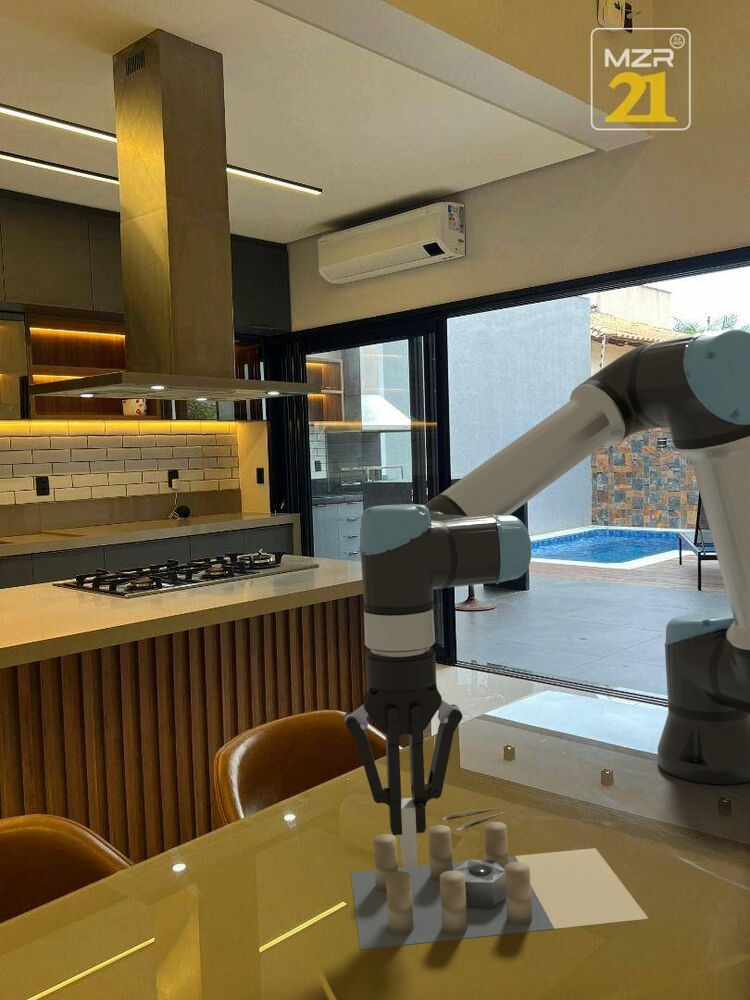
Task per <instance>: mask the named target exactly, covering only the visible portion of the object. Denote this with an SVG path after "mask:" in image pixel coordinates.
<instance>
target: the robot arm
mask: <svg viewBox="0 0 750 1000" xmlns="http://www.w3.org/2000/svg"><path fill="white" fill-rule="evenodd" d="M658 428H662V429H663V428H664V429H665V428H669V430H670V431H669V432H670V435H671V439H672V443H673V447H674V449H675V451H677V452H679V453H681V454H683V455H685V456H687V457H689V459H690V461H691V466H692V468H693V473H694V476H695V480H696V483H697V484H696V485H697V488H698V491H699V494H700V495H699V496H700V498H701V499H700V500H701V501H702V506H703V509H704V513H705V518H706V521H707V525H708V529H709V533H710V535H711V536H710V537H711V539H712V542H713V543H712V544H713V547H714V551H715V554H716V558H717V561H718V565H719V569H720V573H721V576H722V579H723V583H724V587H725V592H726V595H727V599H728V603H729V605H730V610H731V611H714V612H701V613H691V614H685V615H680V616H677V617H674V618H672V619H670V620H669V621H668V623H667V625H666V628H665V642H664V650H665V651H664V653H665V671H666V687H667V688H666V689H667V691H666V692H667V707H668V709H667V717H666V720H665V724H664V726H663V730H662V732H661V737H660V739H659V742H658V746H657V764H658V765H659V767H660V768H661V769H662V770H663V771H664V772H666V773H667V774H670V775H671V776H673V777H676V778H678V779H679V778H680V779H683V780H687V781H691V782H695V783H701V784H702V783H703V784H711V785H712V784H714V785H736V784H737V785H738V784H744V783H747V782H748V783H749V782H750V332H748V331H745V330H742V329H734V328H733V329H732V328H730V329H721V330H719V329H718V330H717V329H716V330H713V329H710V330H704V331H701V332H696V333H692V334H688V335H683V336H678V337H674V338H669V339H664V340H656V341H651V342H647V343H644V344H642V345H639V346H637V347H635V348H633V349H631V350H629V351H627V352H625V353H623V354H622V355H620V356H619V357H618V358H616V359H615V360H613V361H612V362H610V363H609V364H607V365H605V366H604V367H603V368H602V369H600V370H598V371H597V372H595V373H594V374H592V375H591V376H590V377H589V378H587V379H586V380H585V381H583V382H582V383H581V384H578V385H577V386H576V387H575V388H574V389H573V390H572V391H571V393H570V397H569V401H568V402H566V403H565V404H564V405H562V406H561V407H559V408H558V409H557V410H555V411H554V412H553V413H551V414H550V415H549V416H547V417H545V418H544V419H543V420H541V421H540V422H538V424H536V425H535V426H533V427H532V428H530V429H529V430H528V431H526V432H524V433H523V434H522V435H520V436H519V437H517V438H516V439H515V440H514V441H512V442H511V443H509V444H508V445H506V446H505V447H504V448H502V449H501V450H499V452H496V453H495V454H494V455H493V456H491V457H490V458H488V459H487V460H486V461H484V462H483V463H482V464H480V465H479V466H477V467H476V468H474V469H473V470H472V471H471V472H469V473H468V474H466V475H465V476H464V477H463V476H462V478H461V479H459V480H458V481H457V482H455V483H454V484H452V485H451V486H450V487H448V488H447V489H445V490H444V491H443V492H441V493H439V494H438V495H437V496H434V498H432V499H431V500H429V501H427V502H426V503H425V504H417V503H412V504H411V503H410V504H409V503H408V504H407V503H405V504H403V503H402V504H386V505H384V504H383V505H374V506H370V507H367V508H366V509H365V510H364V511H363V512H362V514H361V517H360V528H359V533H360V534H359V547H358V548H359V549H358V550H359V554H360V560H361V561H360V563H361V578H362V593H363V622H364V623H363V624H364V625H363V626H364V645H365V646H366V647H367V648H368V649H369V650H367V652H366V653H365V668H366V669H365V670H366V671H365V673H366V693H365V694H364V697H362V698H363V700H362V705H361V706H359V707H358V708H357V709H355V710H354V711H348V712H346V713H345V714H344V718H343V719H344V723H345V727H346V729H347V730H348V732H349V733H350V734H351V735H352V737H353V738H354V740H355V741H356V743H357V747H358V751H359V755H360V758H361V761H362V764H363V765H362V766H363V768H364V771H365V774H366V778H367V782H368V785H369V788H370V791H371V794H372V798H373V801H374V802H375V803H376V804H386V805H387V806H388V813H389V815H388V817H389V826H390V827H389V828H390V832H391V833H392V834H391V835H393V836H399V839H400V857H401V861H402V862H401V863H402V865H403V867H404V868H407V867H418V866H419V865H418V864H419V863H418V843H417V841H418V840H417V834H423V833H425V832H426V828H427V822H426V821H427V819H426V806H427V803H428V801H430V800H432V799H437V800H438V799H439V798H441V796H442V794H443V789H444V788H443V787H444V783H445V778H446V773H447V768H448V765H449V764H448V763H449V758H450V752H451V749H452V743H453V738H454V733H455V731H456V730H457V727H458V726H459V725H460V723H461V721H462V720H463V713H462V711H461V710H460V708H459V707H458V706H457V705H456V704H450V703H448V702H446V701H445V700H443V698H442V695H441V693H440V691H439V690H438V686H437V669H436V668H437V666H436V651H435V650H434V648H432V646H433V645H434V644H435V643H436V639H435V622H434V621H435V620H434V619H435V618H434V590H442V589H446V588H455V587H456V588H458V587H467V586H474V585H484V584H494V583H495V584H496V585H498V584H500V583H503V582H507V581H512V580H516V579H519V578H521V577H523V576H524V574H525V573H526V572H527V570H528V568H529V566H530V564H531V559H532V541H531V536H530V534H529V531H528V529H527V526H526V525H525V524H524V522H523V521H522V520H521V519H519V518H518V517H517V516H514V515H511V514H513V513H514V512H515V511H517V510H518V509H519V508H521V507H522V506H523V505H525V504H526V503H527V502H529V501H530V500H531V499H533V498H534V497H536V496H537V495H538V494H540V493H541V492H543V491H544V490H545V489H546V488H548V487H549V486H550V485H552V484H553V483H554V482H556V481H557V480H558V479H560V478H561V477H562V476H564V475H565V474H567V472H569V471H571V469H573V468H575V466H577V465H579V464H580V463H581V462H582V461H584V460H585V459H587V458H588V457H590V456H591V455H592V454H594V453H595V452H596V451H598V450H599V449H600V448H602V447H603V446H605V447H606V446H607V447H612V446H616V445H618V444H620V443H621V442H622V441H623V440H625V439H626V438H628V437H630V436H631V435H634V434H637V433H639V432H643V431H648V430H651V429H658ZM437 712H438V715H437V718H438V720H439V724H438V728H437V733H436V737H435V742H434V749H433V755H432V758H431V765H430V769H429V773H428V779H427V783H425V780H426V779H425V761H424V731H425V730H426V729H427V728H428V726H429V724H430V723H431V721H432V720H433V718H434V716H435V715H436V714H437ZM368 716H369V717H370V718H371V719H372V720H373V722H374V723H375V724H376V726H378V728H379V729H380V730H381V732H383V733H384V736H385V748H386V749H385V752H386V753H385V754H386V755H385V756H386V775H387V776H386V778H387V780H386V781H387V787H385V786H382V781H381V779H380V775H379V771H378V769H377V764H376V762H375V759H374V755H373V752H372V749H371V745H370V742H369V739H368V735H367V731H366V730H367V728H368V726H369V725H368V720H367V719H368ZM403 735H407V736H408V746H409V748H408V749H409V771H410V788H411V789H410V792H411V797H406V798H405V797H403V798H402V786H401V785H402V784H401V783H402V782H401V781H402V780H401V758H400V757H401V756H400V736H403Z"/></svg>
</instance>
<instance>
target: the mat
mask: <svg viewBox="0 0 750 1000" xmlns="http://www.w3.org/2000/svg"><path fill="white" fill-rule="evenodd" d="M479 860H486V858H482V859H479ZM466 861H467V860H462V861H461V860H460V861H452V866H453V871H454V870H455V869H456V868H457V867H459V866H460V865H462V864H463V863H464V862H466ZM511 862H522V863H525V864H527V865H528V866H529V867H530V884H531V906H532V921H531V922H530V923H529V924H527V925H514V924H511V923H510V922H509V921H508V920H507V906H506V900H505V901H504V902H502V903H501V904H500V905H499V906H498V907H496V908H495V909H494V910H488V909H467V908H466V911H467V931H466V932H465V933H463V934H460V935H449V934H447V933H445V932H444V931H443V930H442V914H441V895H440V881H435V880H433V879H432V878H431V874H430V864H422V865H421V864H420V865H418V867H407V868H404V866H402V867H398V871H403V872H407V873H409V874H410V876H411V890H412V908H413V926H414V929H413V931H412V932H411V933H409V934H407V935H394V934H392V933H391V932H390V931H389V925H388V907H387V892H384V891H380V890H378V889H377V888H376V877H375V869H370V870H361V871H352V872H349V873H350V879H351V881H350V882H351V889H352V895H353V902H354V903H353V904H354V911H355V917H356V918H355V919H356V920H355V921H356V927H357V933H358V940H359V941H358V942H359V949H360V950H361V951H362V950H372V949H381V948H389V947H400V946H410V945H420V944H428V943H437V942H439V943H440V942H446V941H447V942H448V941H457V940H463V939H464V940H465V939H474V938H484V937H493V936H495V937H496V936H502V935H512V934H513V935H515V934H521V933H530V932H540V931H541V932H542V931H549V930H550V931H551V930H557V929H567V928H568V929H570V928H577V927H579V928H580V927H588V926H596V925H598V926H599V925H603V924H604V925H605V924H615V923H626V922H633V921H634V922H635V921H643V920H649V917H648V916H647V914H646V913H645V911H643V909H642V908H641V907H640V905H639V904H638V902H637V901H636V899H634V897H633V896H632V894H631V893H630V892H629V891H628V889H627V888H626V887H625V885H624V884H623V882H622V881H621V880H620V878H619V877H618V875H617V874H616V873H615V872H614V870H613V869H612V867H610V865H609V864H608V862H607V861H606V860H605V859H604V857H603V856H602V854H600V852H599V851H598V849H597V848H596V847H595V848H584V849H583V848H581V849H572V850H563V851H554V852H553V851H551V852H542V853H532V854H521V855H512V856H508V863H511Z"/></svg>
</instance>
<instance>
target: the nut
mask: <svg viewBox="0 0 750 1000" xmlns="http://www.w3.org/2000/svg"><path fill="white" fill-rule="evenodd" d="M465 861H466V862H464V863H463V864H462V865H460V866H459V867H457V868H456V869H455V870H454V871H459V872H461V873H463V874H464V876H465V892H466V908H467V909H488V910H494V909H495V908H496V907H498V906H499V905H500V904H501V903H502V902H504V901H505V900H506V885H505V870H504V869H503V868H502V867H501V866H500V865H499V864H498V863H496V862H495V861H494V860H480V859H467V860H465Z"/></svg>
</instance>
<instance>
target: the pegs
mask: <svg viewBox="0 0 750 1000" xmlns="http://www.w3.org/2000/svg"><path fill="white" fill-rule="evenodd" d="M483 828H484V829H483V833H484V850H485V851H484V852H485V853H484V854H485V859H486V860H494V861H495V862H496V863H498V864H499V865H500V866H501V867H502V868H503V869H504V870H505V885H506V906H507V920H508V921H509V922H510V923H511V924H514V925H527V924H529V923H530V922H531V921H532V906H531V884H530V867H529V866H528V865H527V864H525V863H522V862H511V863H508V857H509V852H508V850H509V849H508V826H507V824H505V823H504V822H500V821H490V822H487V823H485V824H484V825H483ZM451 831H452V830H451V828H450V827H449V826H447V825H443V824H438V825H433V826H430V827H429V828H428V830H427V832H428V851H429V865H430V874H431V878H432V879H433V880H435V881H440V895H441V914H442V930H443V931H444V932H445V933H447V934H449V935H460V934H463V933H465V932H466V931H467V911H466V892H465V876H464V874H463V873H461V872H459V871H453V866H452V862H453V851H452V850H453V849H452V832H451ZM372 843H373V857H374V870H375V877H376V888H377V889H378V890H380V891H384V892H387V907H388V925H389V931H390V932H391V933H392V934H394V935H407V934H409V933H411V932H412V931H413V929H414V926H413V908H412V890H411V876H410V874H409V873H407V872H403V871H398V868H399V867H398V865H399V864H398V852H397V851H398V850H397V837H396V835H393V834H389V833H386V834H385V833H382V834H378V835H376V836H375V837H374V838H373V841H372Z"/></svg>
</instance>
